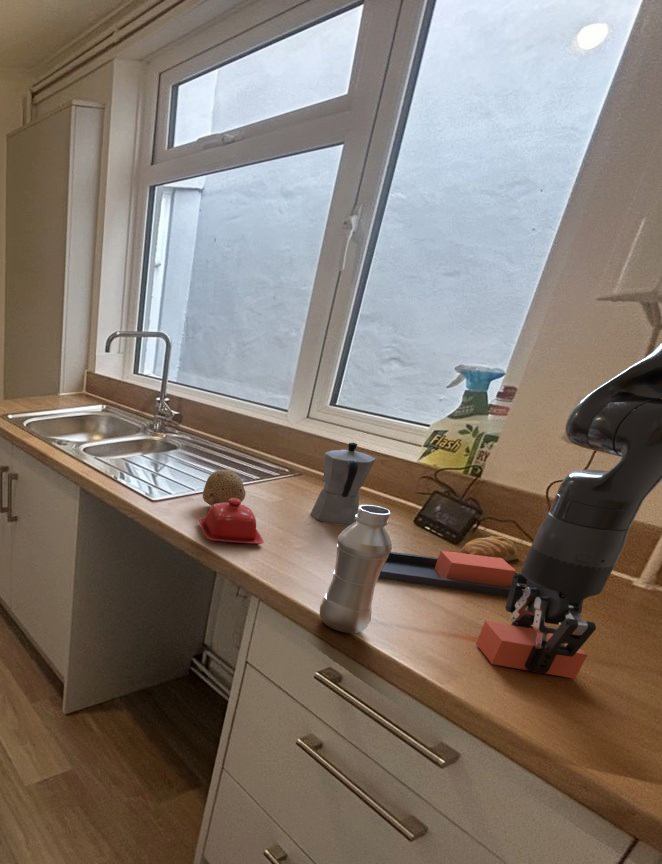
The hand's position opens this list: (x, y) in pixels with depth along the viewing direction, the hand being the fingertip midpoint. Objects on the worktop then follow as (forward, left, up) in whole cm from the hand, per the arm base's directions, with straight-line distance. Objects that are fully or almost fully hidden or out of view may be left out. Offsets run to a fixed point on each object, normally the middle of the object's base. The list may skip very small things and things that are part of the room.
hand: (524, 657), depth 74 cm
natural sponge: (+38, -46, -1) cm, 60 cm away
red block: (-2, -24, 0) cm, 24 cm away
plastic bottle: (+22, -1, -1) cm, 22 cm away
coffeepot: (+14, -48, -1) cm, 50 cm away
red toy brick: (0, 0, 0) cm, 0 cm away
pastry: (-10, -37, -1) cm, 38 cm away
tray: (+3, -24, -1) cm, 24 cm away
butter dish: (+37, -31, -1) cm, 48 cm away
